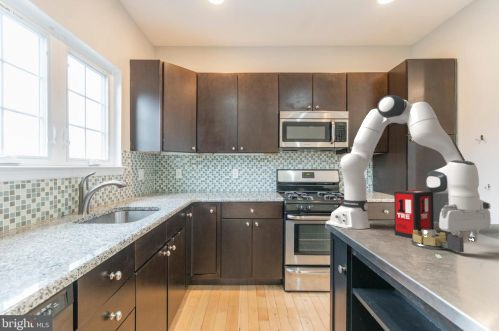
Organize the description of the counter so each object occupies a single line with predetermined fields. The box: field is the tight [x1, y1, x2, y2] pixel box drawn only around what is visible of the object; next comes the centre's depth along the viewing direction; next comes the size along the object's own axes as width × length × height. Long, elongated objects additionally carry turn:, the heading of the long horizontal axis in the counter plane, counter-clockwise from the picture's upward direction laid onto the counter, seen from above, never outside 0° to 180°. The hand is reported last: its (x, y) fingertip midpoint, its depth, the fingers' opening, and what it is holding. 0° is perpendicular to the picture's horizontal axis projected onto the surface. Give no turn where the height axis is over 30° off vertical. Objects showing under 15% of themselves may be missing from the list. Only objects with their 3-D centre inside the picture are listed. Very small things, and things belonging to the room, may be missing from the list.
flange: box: [410, 229, 449, 251], centre depth 101 cm, size 12×12×6 cm
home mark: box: [435, 254, 443, 260], centre depth 87 cm, size 4×1×1 cm, turn 155°
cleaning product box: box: [393, 189, 435, 240], centre depth 118 cm, size 16×9×20 cm, turn 121°
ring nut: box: [413, 229, 465, 253], centre depth 97 cm, size 18×11×5 cm, turn 11°
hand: (465, 242), depth 92 cm, fingers open, 6 cm apart
